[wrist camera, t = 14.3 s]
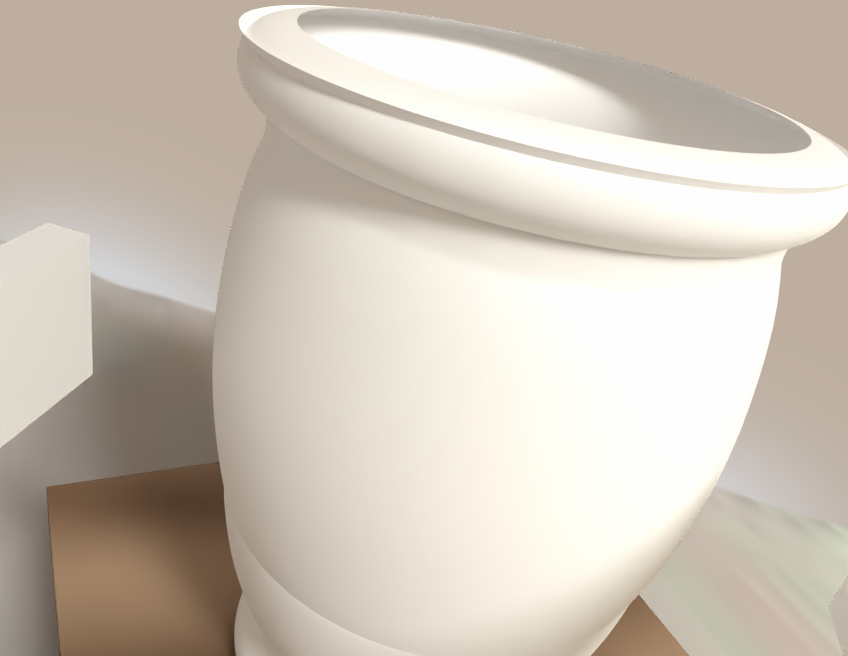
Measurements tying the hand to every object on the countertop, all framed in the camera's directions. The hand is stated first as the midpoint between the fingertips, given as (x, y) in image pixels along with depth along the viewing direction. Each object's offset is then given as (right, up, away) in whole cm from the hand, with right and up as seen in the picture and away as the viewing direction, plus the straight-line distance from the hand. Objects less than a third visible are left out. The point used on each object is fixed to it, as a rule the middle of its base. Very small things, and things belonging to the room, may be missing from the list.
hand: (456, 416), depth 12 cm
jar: (-1, -7, +8) cm, 11 cm away
